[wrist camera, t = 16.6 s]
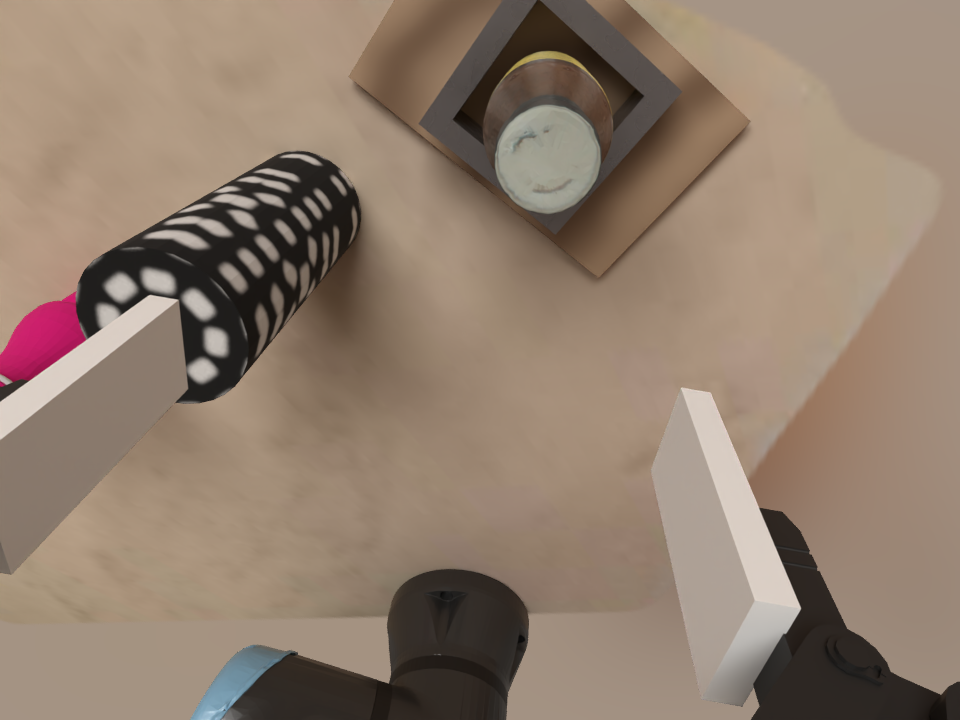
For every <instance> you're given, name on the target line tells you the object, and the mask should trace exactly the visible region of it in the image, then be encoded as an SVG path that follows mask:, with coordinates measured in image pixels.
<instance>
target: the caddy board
mask: <svg viewBox="0 0 960 720" xmlns="http://www.w3.org/2000/svg"><path fill="white" fill-rule="evenodd" d="M586 1H587V2H588V3H589V4H590V5H591V6H592V7H593V8H594V9H595V10H596V11H597V12H599V13H600V14H601V15H602V16H603V17H604V18H605V19H606V20H607V21H608V22H609V23H610V24H611V25H612V26H613V27H614V28H616V29H617V30H618V31H619V32H620V33H621V34H622V35H623V36H624V37H625V38H626V39H627V40H628V41H629V42H630V43H631V44H632V45H634V46H635V47H636V48H637V49H638V50H639V51H640V52H641V53H642V54H643V55H644V56H645V57H646V58H647V59H648V60H649V61H651V62H652V63H653V64H654V65H655V66H656V67H657V68H658V69H659V70H660V71H661V72H662V73H663V74H664V75H665V76H666V77H668V78H669V79H670V80H671V81H672V82H673V83H674V84H675V85H676V86H677V87H678V88H679V89H680V90H681V91H682V93H681V94H680V95H679V96H678V97H677V98H676V100H675V101H674V102H673V103H672V104H671V105H670V106H669V108H668V109H667V110H666V111H665V112H664V113H663V114H662V115H661V117H660V118H659V119H658V120H657V121H656V122H655V123H654V124H653V126H652V127H651V128H650V129H649V130H648V131H647V132H646V133H645V135H644V136H643V137H642V138H641V139H640V140H639V141H638V142H637V144H636V145H635V146H634V147H633V148H632V149H631V150H630V151H629V153H628V154H627V155H626V156H625V157H624V158H623V159H622V160H621V162H620V163H619V164H618V165H617V166H616V167H615V168H614V169H613V171H612V172H611V173H610V174H609V175H608V176H607V177H606V178H605V180H604V181H603V182H602V183H601V184H600V185H599V186H598V187H597V189H596V190H595V191H594V192H593V193H592V194H591V195H590V196H589V198H588V199H587V200H586V201H585V202H584V203H583V204H582V205H581V207H580V208H579V209H578V210H577V211H576V212H575V213H574V214H573V216H572V217H571V218H570V219H569V220H568V221H567V222H566V223H565V225H564V226H563V227H562V228H561V229H560V230H559V231H558V232H557V234H556V235H555V234H554V233H552V232H551V231H550V230H549V229H548V228H546V227H545V226H544V225H543V224H541V223H540V222H539V221H538V220H536V219H535V218H534V217H533V216H532V215H530V214H529V213H528V212H527V211H525V210H524V209H523V208H522V207H520V206H518V205H516V204H515V203H514V202H513V201H512V200H511V199H510V198H509V197H508V196H507V195H506V194H504V193H503V192H502V191H501V190H499V189H498V188H497V187H496V186H494V185H493V184H492V183H491V182H490V181H488V180H487V179H486V178H485V177H483V176H482V175H481V174H480V173H478V172H477V171H476V170H475V169H474V168H472V167H471V166H470V165H469V164H467V163H466V162H465V161H464V160H462V159H461V158H460V157H459V156H457V155H456V154H455V153H454V152H453V151H451V150H450V149H449V148H448V147H446V146H445V145H444V144H443V143H441V142H440V141H439V140H438V139H437V138H435V137H434V136H433V135H432V134H430V133H429V132H428V131H427V130H425V129H424V128H423V127H422V126H420V125H419V124H418V123H419V122H420V121H421V119H422V118H423V116H424V115H425V113H426V112H427V110H428V109H429V107H430V106H431V104H432V103H433V102H434V100H435V99H436V97H437V96H438V94H439V93H440V91H441V90H442V88H443V87H444V85H445V84H446V82H447V81H448V80H449V78H450V77H451V75H452V74H453V72H454V71H455V69H456V68H457V66H458V65H459V63H460V62H461V60H462V59H463V58H464V56H465V55H466V53H467V52H468V50H469V49H470V47H471V46H472V44H473V43H474V41H475V40H476V38H477V37H478V36H479V34H480V33H481V31H482V30H483V28H484V27H485V25H486V24H487V22H488V21H489V19H490V18H491V17H492V15H493V14H494V12H495V11H496V9H497V8H498V6H499V5H500V3H501V2H502V0H394V2H393V3H392V5H391V7H390V8H389V10H388V12H387V13H386V15H385V17H384V18H383V20H382V22H381V23H380V25H379V27H378V28H377V30H376V32H375V33H374V35H373V37H372V38H371V40H370V42H369V43H368V45H367V47H366V48H365V50H364V52H363V54H362V55H361V57H360V59H359V60H358V62H357V64H356V65H355V67H354V69H353V70H352V72H351V74H350V75H349V77H350V78H351V79H352V80H353V81H355V82H356V83H357V84H358V85H359V86H361V87H362V88H363V89H364V90H366V91H367V92H368V93H369V94H371V95H372V96H373V97H374V98H376V99H377V100H378V101H379V102H381V103H382V104H383V105H384V106H386V107H387V108H388V109H389V110H390V111H392V112H393V113H394V114H395V115H397V116H398V117H399V118H400V119H402V120H403V121H404V122H405V123H407V124H408V125H409V126H410V127H412V128H413V129H414V130H415V131H417V132H418V133H419V134H420V135H422V136H423V137H424V138H425V139H426V140H428V141H429V142H430V143H431V144H433V145H434V146H435V147H436V148H438V149H439V150H440V151H441V152H443V153H444V154H445V155H446V156H448V157H449V158H450V159H451V160H453V161H454V162H455V163H456V164H457V165H459V166H460V167H461V168H462V169H464V170H465V171H466V172H467V173H469V174H470V175H471V176H472V177H474V178H475V179H476V180H477V181H479V182H480V183H481V184H482V185H484V186H485V187H486V188H487V189H488V190H490V191H491V192H492V193H493V194H495V195H496V196H497V197H498V198H500V199H501V200H502V201H503V202H505V203H506V204H507V205H508V206H510V207H511V208H512V209H513V210H515V211H516V212H517V213H518V214H520V215H521V216H522V217H523V218H524V219H526V220H527V221H528V222H529V223H531V224H532V225H533V226H534V227H536V228H537V229H538V230H539V231H541V232H542V233H543V234H544V235H546V236H547V237H548V238H549V239H551V240H552V241H553V242H554V243H555V244H557V245H558V246H559V247H560V248H562V249H563V250H564V251H565V252H567V253H568V254H569V255H570V256H572V257H573V258H574V259H575V260H577V261H578V262H579V263H580V264H582V265H583V266H584V267H585V268H586V269H588V270H589V271H590V272H591V273H593V274H594V275H595V276H596V277H598V278H599V277H600V276H601V275H602V274H603V273H604V272H605V271H606V270H607V269H608V268H609V267H610V266H611V265H612V264H613V263H614V262H615V260H616V259H617V258H618V257H619V256H620V255H621V254H622V253H623V252H624V251H625V250H626V249H627V248H628V247H629V246H630V245H631V244H632V243H633V242H634V241H635V240H636V239H637V238H638V237H639V236H640V235H641V234H642V233H643V232H644V231H645V230H646V229H647V228H648V226H649V225H650V224H651V223H652V222H653V221H654V220H655V219H656V218H657V217H658V216H659V215H660V214H661V213H662V212H663V211H664V210H665V209H666V208H667V207H668V206H669V205H670V204H671V203H672V202H673V201H674V200H675V199H676V198H677V197H678V196H679V195H680V194H681V193H682V191H683V190H684V189H685V188H686V187H687V186H688V185H689V184H690V183H691V182H692V181H693V180H694V179H695V178H696V177H697V176H698V175H699V174H700V173H701V172H702V171H703V170H704V169H705V168H706V167H707V166H708V165H709V164H710V163H711V162H712V161H713V160H714V159H715V157H716V156H717V155H718V154H719V153H720V152H721V151H722V150H723V149H724V148H725V147H726V146H727V145H728V144H729V143H730V142H731V141H732V140H733V139H734V138H735V137H736V136H737V135H738V134H739V133H740V132H741V131H742V130H743V129H744V128H745V127H746V126H747V125H748V124H749V122H750V120H749V119H748V118H747V117H746V116H745V115H743V114H742V113H741V112H740V111H739V110H738V109H737V108H736V107H735V106H734V105H733V104H732V103H731V102H730V101H729V100H728V99H727V98H726V97H725V96H724V95H723V94H722V93H721V92H720V91H718V90H717V89H716V88H715V87H714V86H713V85H712V84H711V83H710V82H709V81H708V80H707V79H706V78H705V77H704V76H703V75H702V74H701V73H700V72H699V71H698V70H697V69H696V68H695V67H693V66H692V65H691V64H690V63H689V62H688V61H687V60H686V59H685V58H684V57H683V56H682V55H681V54H680V53H679V52H678V51H677V50H676V49H675V48H674V47H673V46H672V45H671V44H670V43H669V42H667V41H666V40H665V39H664V38H663V37H662V36H661V35H660V34H659V33H658V32H657V31H656V30H655V29H654V28H653V27H652V26H651V25H650V24H649V23H648V22H647V21H646V20H645V19H644V18H642V17H641V16H640V15H639V14H638V13H637V12H636V11H635V10H634V9H633V8H632V7H631V6H630V5H629V4H628V3H627V2H626V1H625V0H586ZM541 51H557V52H561V53H564V54H567V55H569V56H571V57H573V58H574V59H576V60H577V61H579V62H580V63H581V64H582V65H583V66H584V67H585V68H586V69H587V71H588V72H589V73H590V74H591V75H592V76H593V77H594V78H595V79H596V80H597V81H598V83H599V84H600V86H601V87H602V89H603V91H604V93H605V95H606V97H607V99H608V101H609V104H610V107H611V111H612V116H613V115H614V114H615V113H616V111H617V110H618V109H619V108H620V107H621V105H622V104H623V103H624V102H625V101H626V100H627V98H628V97H629V96H630V95H631V94H632V92H633V91H634V90H635V89H636V88H635V87H634V86H633V85H632V84H631V83H630V82H628V81H627V80H626V79H625V78H624V77H623V76H622V75H621V74H620V73H619V72H618V71H617V70H615V69H614V68H613V67H612V66H611V65H610V64H609V63H608V62H607V61H606V60H605V59H603V58H602V57H601V56H600V55H599V54H598V53H597V52H596V51H595V50H594V49H593V48H592V47H590V46H589V45H588V44H587V43H586V42H585V41H584V40H583V39H582V38H581V37H580V36H578V35H577V34H576V33H575V32H574V31H573V30H572V29H571V28H570V27H569V26H568V25H567V24H565V23H564V22H563V21H562V20H561V19H560V18H559V17H558V16H557V15H556V14H555V13H553V12H552V11H551V10H550V9H549V8H548V7H547V6H546V5H545V4H544V3H543V2H542V1H540V0H538V2H537V3H536V4H535V6H534V7H533V9H532V10H531V11H530V13H529V14H528V16H527V17H526V18H525V20H524V21H523V23H522V24H521V25H520V27H519V28H518V30H517V31H516V32H515V34H514V35H513V37H512V38H511V40H510V41H509V42H508V44H507V45H506V47H505V48H504V49H503V51H502V52H501V54H500V55H499V56H498V58H497V59H496V61H495V62H494V63H493V65H492V66H491V68H490V69H489V70H488V72H487V73H486V75H485V76H484V78H483V79H482V80H481V82H480V83H479V85H478V86H477V87H476V89H475V90H474V92H473V93H472V94H471V96H470V97H469V99H468V100H467V101H466V103H465V104H464V106H463V107H462V108H461V110H462V111H463V112H465V113H466V114H467V115H468V116H469V117H471V118H472V119H473V120H474V121H475V122H477V123H478V124H479V125H480V126H481V127H483V122H484V117H485V113H486V109H487V106H488V103H489V100H490V98H491V96H492V94H493V92H494V90H495V88H496V87H497V85H498V84H499V83H500V81H501V80H502V79H503V77H504V76H505V75H506V74H507V72H508V71H509V70H510V69H511V68H512V67H513V66H514V65H515V64H516V63H517V62H519V61H520V60H521V59H523V58H524V57H526V56H528V55H531V54H533V53H536V52H541Z"/></svg>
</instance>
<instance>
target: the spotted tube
mask: <svg viewBox="0 0 960 720" xmlns="http://www.w3.org/2000/svg"><path fill="white" fill-rule="evenodd" d="M360 221H361V209H360V204H359V199H358V196H357V194H356V191H355V189H354V187H353V185H352V184H351V182H350V181H349V179H348V177H347V176H346V175H345V174H344V173H343V172H342V171H341V170H340V169H339V168H338V167H337V166H336V165H334V164H333V163H332V162H331V161H329V160H327V159H325V158H323V157H321V156H319V155H316V154H313V153H310V152H304V151H289V152H285V153H281V154H278V155H276V156H274V157H272V158H271V159H269V160H267V161H265V162H264V163H262V164H260V165H258V166H257V167H255V168H253V169H251V170H250V171H248V172H246V173H244V174H243V175H241V176H239V177H237V178H236V179H234V180H232V181H230V182H229V183H227V184H225V185H223V186H222V187H220V188H218V189H216V190H215V191H213V192H211V193H209V194H208V195H206V196H204V197H202V198H201V199H199V200H197V201H195V202H194V203H192V204H190V205H188V206H187V207H185V208H183V209H181V210H180V211H178V212H176V213H174V214H173V215H171V216H169V217H167V218H166V219H164V220H162V221H160V222H159V223H157V224H155V225H153V226H152V227H150V228H148V229H146V230H145V231H143V232H141V233H139V234H138V235H136V236H134V237H132V238H131V239H129V240H127V241H125V242H124V243H122V244H120V245H118V246H117V247H115V248H113V249H111V250H110V251H108V252H106V253H105V254H103V255H101V256H100V257H98V258H96V259H95V260H93V261H92V263H91V264H90V265H89V266H88V267H87V268H86V269H85V270H84V272H83V274H82V276H81V278H80V280H79V282H78V286H77V292H76V313H77V317H78V320H79V324H80V328H81V330H82V332H83V334H84V336H85V338H86V340H87V339H89V338H90V337H92V336H93V335H94V334H96V333H97V332H99V331H100V330H101V329H103V328H104V327H106V326H107V325H108V324H110V323H111V322H113V321H114V320H115V319H117V318H118V317H119V316H121V315H122V314H124V313H125V312H126V311H128V310H129V309H131V308H132V307H133V306H135V305H136V304H138V303H139V302H140V301H142V300H143V299H145V298H146V297H147V296H149V295H153V296H159V297H165V298H170V299H176V300H179V308H180V317H181V327H182V336H183V345H184V355H185V364H186V373H187V383H188V389H187V391H186V392H185V393H184V394H183V395H182V396H181V397H180V398H179V399H178V400H177V401H176V402H175V403H183V404H191V403H202V402H207V401H211V400H214V399H216V398H218V397H220V396H222V395H225V394H226V393H227V392H228V391H230V390H231V389H232V388H233V387H235V385H236V384H237V383H238V382H239V381H240V379H241V378H242V377H243V376H244V374H245V373H246V372H247V371H248V370H249V368H250V367H251V366H252V365H253V363H254V362H255V361H256V360H257V359H258V357H259V356H260V355H261V354H262V353H263V351H264V350H265V349H266V348H267V346H268V345H269V344H270V343H271V342H272V340H273V339H274V338H275V337H276V335H277V334H278V333H279V332H280V331H281V329H282V328H283V327H284V326H285V324H286V323H287V322H288V321H289V320H290V318H291V317H292V316H293V315H294V313H295V312H296V311H297V310H298V309H299V307H300V306H301V305H302V304H303V302H304V301H305V300H306V299H307V298H308V296H309V295H310V294H311V293H312V291H313V290H314V289H315V288H316V287H317V285H318V284H319V283H320V282H321V280H322V279H323V278H324V277H325V276H326V274H327V273H328V272H329V271H330V269H331V268H332V267H333V266H334V265H335V263H336V262H337V261H338V260H339V258H340V257H341V256H342V255H343V254H344V252H345V251H346V250H347V249H348V247H349V246H350V245H351V243H352V242H353V241H354V239H355V237H356V235H357V233H358V230H359V226H360Z"/></svg>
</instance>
